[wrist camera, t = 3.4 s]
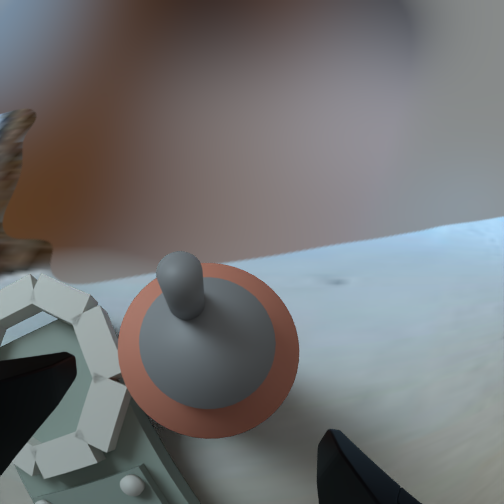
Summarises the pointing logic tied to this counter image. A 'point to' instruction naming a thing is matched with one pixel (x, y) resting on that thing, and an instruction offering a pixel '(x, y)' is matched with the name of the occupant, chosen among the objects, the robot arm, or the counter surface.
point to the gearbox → (86, 409)
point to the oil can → (207, 348)
